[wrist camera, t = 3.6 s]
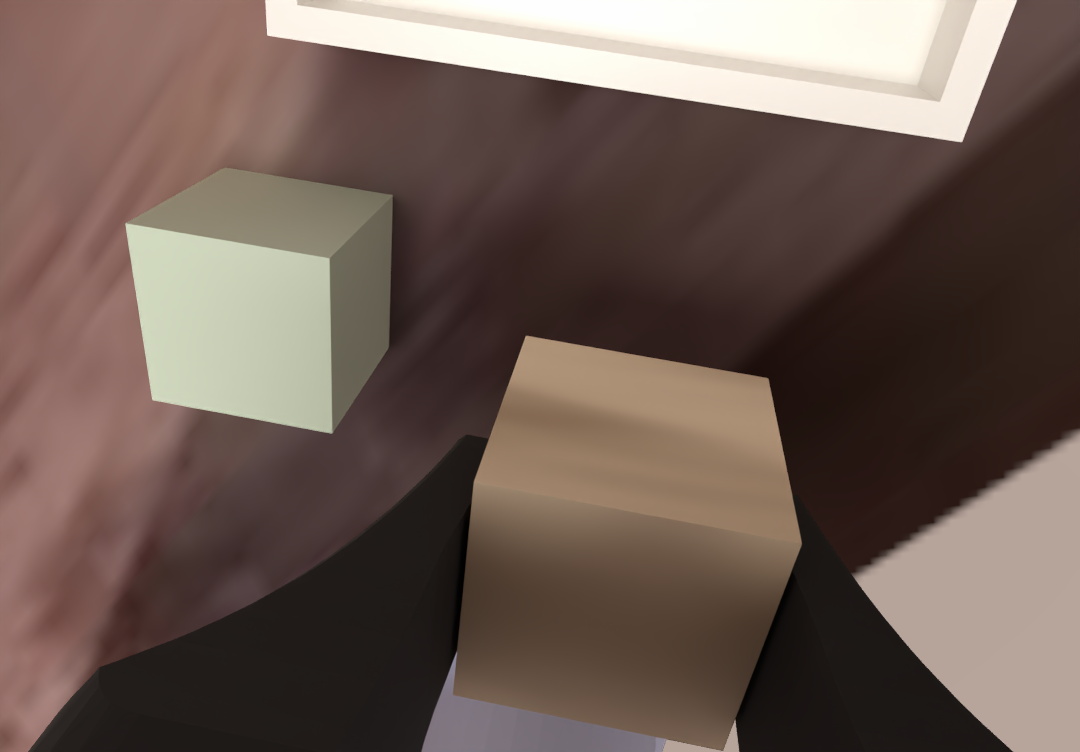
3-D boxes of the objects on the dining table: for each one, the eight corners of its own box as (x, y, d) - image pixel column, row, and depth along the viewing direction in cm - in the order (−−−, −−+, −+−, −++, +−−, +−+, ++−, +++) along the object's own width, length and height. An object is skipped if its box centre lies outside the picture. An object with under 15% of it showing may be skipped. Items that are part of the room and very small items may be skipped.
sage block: (389, 346, 20) (332, 433, 17) (239, 319, 21) (152, 399, 17) (394, 193, 18) (329, 258, 15) (226, 166, 19) (125, 223, 15)
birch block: (711, 560, 15) (722, 750, 12) (502, 520, 15) (453, 694, 12) (768, 378, 13) (801, 543, 10) (526, 336, 13) (473, 481, 10)
